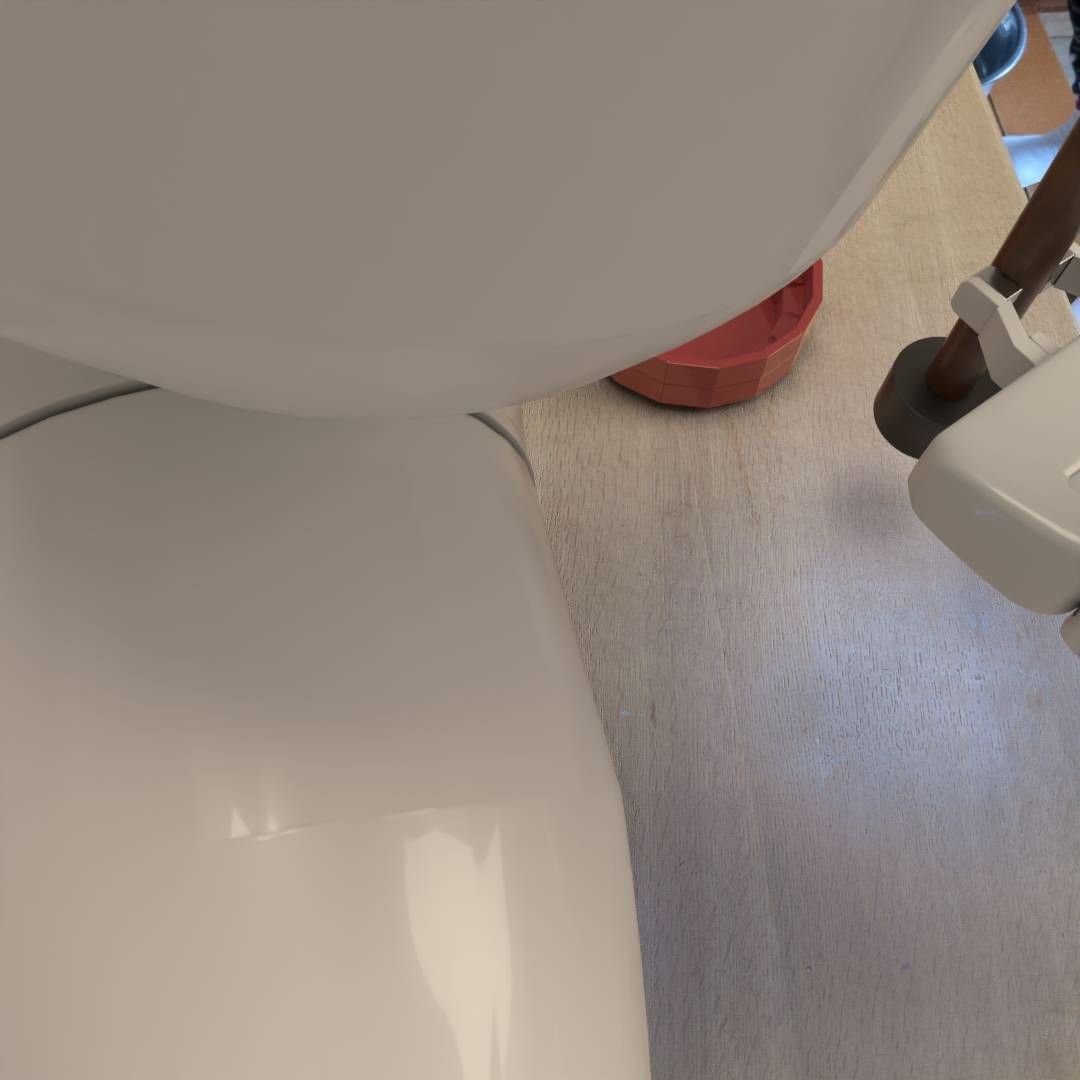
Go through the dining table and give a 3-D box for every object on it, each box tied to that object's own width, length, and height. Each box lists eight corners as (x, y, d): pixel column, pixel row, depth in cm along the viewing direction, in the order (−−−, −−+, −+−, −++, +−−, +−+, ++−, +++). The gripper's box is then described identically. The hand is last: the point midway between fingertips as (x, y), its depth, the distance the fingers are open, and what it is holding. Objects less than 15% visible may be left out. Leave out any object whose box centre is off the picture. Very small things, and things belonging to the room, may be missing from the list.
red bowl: (746, 450, 60) (762, 406, 56) (533, 350, 63) (534, 301, 59) (839, 284, 65) (860, 234, 61) (640, 200, 68) (647, 146, 64)
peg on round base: (958, 480, 49) (1176, 195, 33) (856, 432, 50) (1019, 134, 34) (994, 401, 51) (1215, 97, 35) (895, 357, 52) (1065, 43, 36)
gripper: (1518, 318, 37) (1204, 97, 42) (1156, 627, 31) (840, 329, 36) (1385, 416, 43) (1122, 211, 48) (1058, 693, 37) (796, 427, 42)
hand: (997, 264), depth 42 cm, fingers closed on peg on round base, 2 cm apart
